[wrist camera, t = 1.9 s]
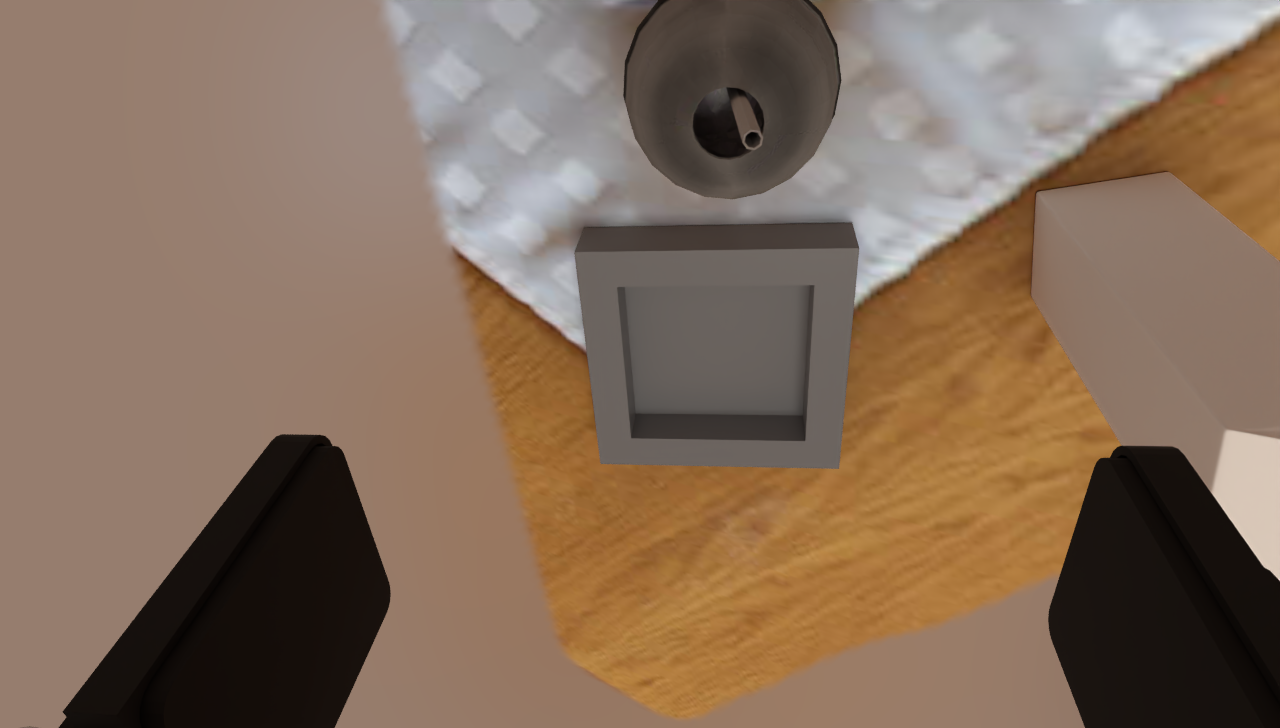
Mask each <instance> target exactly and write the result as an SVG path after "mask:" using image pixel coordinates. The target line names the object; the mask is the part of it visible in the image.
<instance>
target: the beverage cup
mask: <svg viewBox="0 0 1280 728" xmlns="http://www.w3.org/2000/svg"><path fill="white" fill-rule="evenodd" d="M840 84H841V73H840V65H839V57H838V49H837V44H836V42H835V39H834V37H833V35H832V33H831V31H830V29H829V27H828V25H827V23H826V21H825V19H824V17H823V15H822V13H821V11H820V10H819V9H818V8H817V7H816V6H815V5H813V4H812V3H811V2H810V1H809V0H658V2H657V3H656V4H655V6H654V7H653V8H652V10H651V11H650V12H649V13H648V15H647V16H646V17H645V19H644V20H643V21H642V22H641V24H640V25H639V26H638V28H637V30H636V33H635V35H634V38H633V41H632V44H631V46H630V49H629V52H628V55H627V57H626V60H625V74H624V100H625V103H626V107H627V111H628V115H629V118H630V122H631V126H632V129H633V132H634V136H635V139H636V140H637V142H638V143H639V145H640V147H641V148H642V150H643V151H644V153H645V154H646V156H647V158H648V159H649V161H650V162H651V164H652V165H653V166H654V167H655V168H656V169H658V170H659V171H660V172H661V173H662V174H664V175H665V176H666V177H667V178H668V179H669V180H671V181H672V182H673V183H674V184H676V185H678V186H680V187H682V188H685V189H687V190H690V191H692V192H694V193H697V194H699V195H702V196H704V197H714V198H725V199H737V198H742V197H747V196H751V195H756V194H761V193H764V192H766V191H768V190H770V189H771V188H773V187H775V186H777V185H779V184H781V183H783V182H784V181H786V180H788V179H790V178H791V177H792V176H794V175H795V174H796V173H797V172H798V171H799V170H800V169H801V168H802V167H803V166H804V165H805V164H806V163H807V162H808V161H809V160H810V159H811V158H812V157H813V156H814V154H815V152H816V150H817V148H818V146H819V145H820V143H821V141H822V139H823V137H824V135H825V133H826V132H827V130H828V128H829V126H830V124H831V122H832V119H833V117H834V115H835V110H836V105H837V100H838V95H839V90H840Z"/></svg>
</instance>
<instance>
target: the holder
mask: <svg viewBox="0 0 1280 728" xmlns="http://www.w3.org/2000/svg"><path fill="white" fill-rule="evenodd" d="M858 254H859V246H858V242H857V239H856V235H855V231H854V228H853V224H852V223H811V224H755V225H700V226H644V227H589V228H584V230H583V232H582V235H581V237H580V240H579V242H578V245H577V247H576V250H575V261H576V269H577V277H578V285H579V293H580V301H581V309H582V317H583V325H584V333H585V341H586V350H587V358H588V366H589V374H590V382H591V390H592V398H593V406H594V414H595V422H596V430H597V439H598V447H599V455H600V463H601V464H633V465H683V466H732V467H781V468H831V469H839V462H840V452H841V441H842V430H843V419H844V408H845V397H846V386H847V375H848V364H849V353H850V342H851V331H852V320H853V309H854V298H855V287H856V276H857V265H858Z"/></svg>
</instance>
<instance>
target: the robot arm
mask: <svg viewBox="0 0 1280 728" xmlns="http://www.w3.org/2000/svg"><path fill="white" fill-rule="evenodd" d="M389 603H390V585H389V581H388V578H387V575H386V573H385V570H384V567H383V564H382V561H381V558H380V556H379V553H378V550H377V547H376V544H375V541H374V538H373V536H372V533H371V530H370V527H369V524H368V521H367V518H366V515H365V513H364V510H363V507H362V504H361V502H360V498H359V495H358V493H357V490H356V487H355V484H354V481H353V478H352V476H351V473H350V470H349V467H348V464H347V461H346V459H345V456H344V453H343V451H342V450H341V449H340V448H339V447H336V446H332V444H331V442H330V440H329V439H328V438H327V437H326V436H322V435H285V434H284V435H279V436H276V437H275V438H274V439H273V440H272V441H271V442H270V444H269V445H268V446H267V448H266V449H265V450H264V451H263V453H262V454H261V455H260V457H259V458H258V459H257V460H256V462H255V463H254V464H253V466H252V467H251V468H250V469H249V471H248V472H247V474H246V475H245V476H244V477H243V479H242V480H241V481H240V483H239V484H238V485H237V486H236V488H235V489H234V490H233V492H232V493H231V494H230V495H229V497H228V498H227V499H226V501H225V502H224V503H223V505H222V506H221V507H220V508H219V510H218V511H217V512H216V514H215V515H214V516H213V517H212V519H211V520H210V521H209V523H208V524H207V525H206V527H205V528H204V529H203V530H202V532H201V533H200V534H199V536H198V537H197V538H196V540H195V541H194V542H193V543H192V545H191V546H190V547H189V549H188V550H187V551H186V553H185V554H184V555H183V557H182V558H181V559H180V560H179V562H178V563H177V564H176V565H175V567H174V568H173V569H172V571H171V572H170V573H169V575H168V576H167V577H166V579H165V580H164V581H163V582H162V584H161V585H160V586H159V588H158V589H157V590H156V592H155V593H154V594H153V595H152V597H151V598H150V599H149V601H148V602H147V603H146V605H145V606H144V607H143V608H142V610H141V611H140V612H139V613H138V615H137V616H136V617H135V619H134V620H133V621H132V623H131V624H130V625H129V626H128V628H127V629H126V630H125V632H124V633H123V634H122V636H121V637H120V638H119V639H118V641H117V642H116V643H115V645H114V646H113V647H112V649H111V650H110V651H109V652H108V654H107V655H106V656H105V658H104V659H103V660H102V661H101V663H100V664H99V666H98V667H97V668H96V669H95V671H94V672H93V673H92V674H91V676H90V677H89V678H88V680H87V681H86V682H85V684H84V685H83V686H82V687H81V689H80V690H79V691H78V693H77V694H76V695H75V697H74V698H73V699H72V700H71V702H70V703H69V704H68V706H67V707H66V708H65V709H64V711H63V713H64V714H65V715H66V719H65V720H64V721H63V723H62V724H61V725H60V727H59V728H335V725H336V723H337V721H338V719H339V717H340V715H341V712H342V710H343V708H344V705H345V703H346V701H347V699H348V697H349V695H350V692H351V690H352V688H353V686H354V684H355V681H356V679H357V677H358V675H359V673H360V670H361V668H362V666H363V664H364V662H365V659H366V657H367V655H368V653H369V651H370V648H371V646H372V644H373V642H374V639H375V637H376V635H377V633H378V631H379V629H380V626H381V624H382V622H383V620H384V618H385V615H386V613H387V610H388V607H389ZM1048 622H1049V631H1050V636H1051V639H1052V642H1053V645H1054V647H1055V650H1056V653H1057V655H1058V658H1059V661H1060V663H1061V666H1062V668H1063V671H1064V674H1065V676H1066V679H1067V682H1068V684H1069V687H1070V689H1071V692H1072V694H1073V697H1074V700H1075V702H1076V705H1077V707H1078V710H1079V713H1080V715H1081V718H1082V721H1083V723H1084V726H1085V728H1280V581H1279V580H1278V578H1277V577H1276V576H1275V575H1274V574H1273V573H1272V572H1271V571H1270V570H1268V569H1266V568H1264V567H1263V565H1262V564H1261V562H1260V561H1259V560H1258V558H1257V557H1256V555H1255V554H1254V552H1253V551H1252V550H1251V548H1250V547H1249V545H1248V544H1247V543H1246V541H1245V540H1244V538H1243V537H1242V536H1241V534H1240V533H1239V531H1238V530H1237V528H1236V527H1235V526H1234V524H1233V523H1232V521H1231V520H1230V519H1229V517H1228V516H1227V514H1226V513H1225V512H1224V510H1223V509H1222V507H1221V506H1220V504H1219V503H1218V502H1217V500H1216V499H1215V497H1214V496H1213V495H1212V493H1211V492H1210V490H1209V489H1208V488H1207V486H1206V485H1205V483H1204V482H1203V480H1202V479H1201V478H1200V476H1199V475H1198V473H1197V472H1196V471H1195V469H1194V468H1193V466H1192V465H1191V463H1190V462H1189V461H1188V459H1187V458H1186V456H1185V455H1184V454H1183V453H1182V452H1181V451H1180V450H1179V449H1178V448H1175V447H1173V446H1119V447H1117V448H1116V449H1115V450H1114V451H1113V453H1112V455H1111V457H1110V458H1100V459H1099V460H1098V461H1097V463H1096V465H1095V467H1094V470H1093V473H1092V476H1091V479H1090V483H1089V486H1088V489H1087V492H1086V495H1085V498H1084V501H1083V505H1082V508H1081V511H1080V514H1079V517H1078V520H1077V524H1076V527H1075V530H1074V533H1073V536H1072V539H1071V542H1070V546H1069V549H1068V552H1067V555H1066V558H1065V561H1064V564H1063V568H1062V571H1061V574H1060V577H1059V580H1058V583H1057V586H1056V590H1055V593H1054V596H1053V599H1052V602H1051V605H1050V609H1049V618H1048ZM23 728H37V727H30V726H29V727H23Z"/></svg>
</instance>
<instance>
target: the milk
mask: <svg viewBox="0 0 1280 728" xmlns="http://www.w3.org/2000/svg"><path fill="white" fill-rule="evenodd" d="M1031 297H1032V299H1033V300H1034V302H1035V304H1036V305H1037V307H1038V309H1039V310H1040V312H1041V314H1042V315H1043V317H1044V319H1045V320H1046V322H1047V323H1048V325H1049V327H1050V328H1051V330H1052V332H1053V333H1054V335H1055V337H1056V338H1057V340H1058V342H1059V343H1060V345H1061V346H1062V348H1063V350H1064V351H1065V353H1066V355H1067V356H1068V358H1069V360H1070V361H1071V363H1072V365H1073V366H1074V368H1075V369H1076V371H1077V373H1078V374H1079V376H1080V378H1081V379H1082V381H1083V383H1084V384H1085V386H1086V388H1087V389H1088V391H1089V392H1090V394H1091V396H1092V397H1093V399H1094V401H1095V402H1096V404H1097V406H1098V407H1099V409H1100V411H1101V412H1102V414H1103V415H1104V417H1105V419H1106V420H1107V422H1108V424H1109V425H1110V427H1111V429H1112V430H1113V432H1114V434H1115V435H1116V437H1117V438H1118V440H1119V442H1120V443H1121V445H1122V446H1173V447H1175V448H1178V449H1179V450H1180V451H1181V452H1182V453H1183V454H1184V455H1185V456H1186V458H1187V459H1188V461H1189V462H1190V463H1191V465H1192V466H1193V468H1194V469H1195V471H1196V472H1197V473H1198V475H1199V476H1200V478H1201V479H1202V480H1203V482H1204V483H1205V485H1206V486H1207V488H1208V489H1209V490H1210V492H1211V493H1212V495H1213V496H1214V497H1215V499H1216V500H1217V502H1218V503H1219V504H1220V506H1221V507H1222V509H1223V510H1224V512H1225V513H1226V514H1227V516H1228V517H1229V519H1230V520H1231V521H1232V523H1233V524H1234V526H1235V527H1236V528H1237V530H1238V531H1239V533H1240V534H1241V536H1242V537H1243V538H1244V540H1245V541H1246V543H1247V544H1248V545H1249V547H1250V548H1251V550H1252V551H1253V552H1254V554H1255V555H1256V557H1257V558H1258V560H1259V561H1260V562H1261V564H1262V565H1263V567H1264V568H1266V569H1268V570H1270V571H1271V572H1272V573H1273V574H1274V575H1275V576H1276V577H1277V578H1278V580H1279V581H1280V261H1278V260H1277V259H1276V258H1275V257H1274V256H1272V255H1271V254H1270V253H1269V252H1267V251H1266V250H1265V249H1264V248H1262V247H1261V246H1260V245H1259V244H1258V243H1256V242H1255V241H1254V240H1253V239H1251V238H1250V237H1249V236H1248V235H1247V234H1245V233H1244V232H1243V231H1242V230H1240V229H1239V228H1238V227H1237V226H1235V225H1234V224H1233V223H1232V222H1231V221H1229V220H1228V219H1227V218H1226V217H1224V216H1223V215H1222V214H1221V213H1219V212H1218V211H1217V210H1216V209H1215V208H1213V207H1212V206H1211V205H1210V204H1208V203H1207V202H1206V201H1205V200H1203V199H1202V198H1201V197H1200V196H1199V195H1197V194H1196V193H1195V192H1194V191H1192V190H1191V189H1190V188H1189V187H1188V186H1186V185H1185V184H1184V183H1183V182H1181V181H1180V180H1179V179H1178V178H1176V177H1175V176H1174V175H1173V174H1171V173H1170V172H1163V173H1156V174H1150V175H1143V176H1137V177H1130V178H1124V179H1117V180H1110V181H1104V182H1097V183H1091V184H1084V185H1078V186H1071V187H1064V188H1058V189H1051V190H1045V191H1038V192H1037V193H1036V204H1035V224H1034V244H1033V264H1032V284H1031Z"/></svg>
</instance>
